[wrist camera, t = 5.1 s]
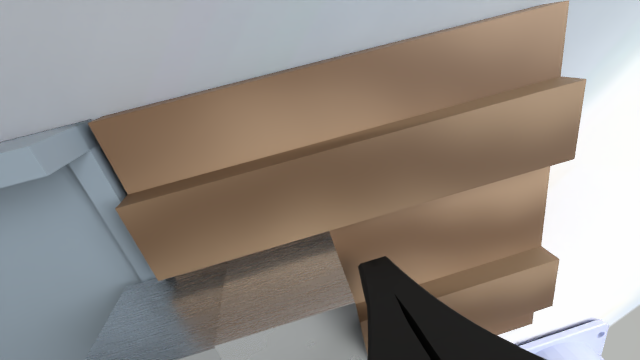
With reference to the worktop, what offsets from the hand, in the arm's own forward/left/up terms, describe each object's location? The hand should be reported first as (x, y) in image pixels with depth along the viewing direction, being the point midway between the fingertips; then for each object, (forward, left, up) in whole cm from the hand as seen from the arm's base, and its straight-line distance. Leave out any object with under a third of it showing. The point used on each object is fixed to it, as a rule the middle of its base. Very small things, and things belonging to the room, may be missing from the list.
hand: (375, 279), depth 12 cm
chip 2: (0, +3, -1) cm, 3 cm away
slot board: (0, -1, -2) cm, 2 cm away
